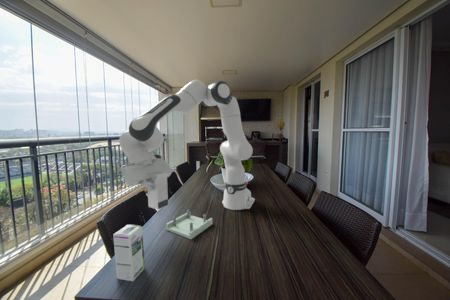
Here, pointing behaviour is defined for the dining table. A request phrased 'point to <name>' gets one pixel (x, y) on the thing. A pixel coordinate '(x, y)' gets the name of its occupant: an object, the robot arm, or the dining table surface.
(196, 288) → the dining table surface
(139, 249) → the syrup box
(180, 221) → the pin tray
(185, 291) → the dining table surface
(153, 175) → the white carton
